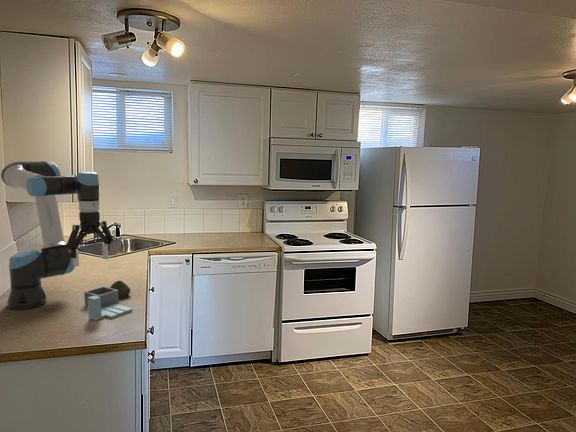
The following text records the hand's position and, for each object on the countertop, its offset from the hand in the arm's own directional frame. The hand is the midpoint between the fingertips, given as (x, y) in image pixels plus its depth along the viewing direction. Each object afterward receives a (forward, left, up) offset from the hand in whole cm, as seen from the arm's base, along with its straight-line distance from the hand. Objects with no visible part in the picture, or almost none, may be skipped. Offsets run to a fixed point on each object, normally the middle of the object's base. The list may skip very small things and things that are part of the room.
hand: (91, 262), depth 182 cm
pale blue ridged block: (+3, +5, -23) cm, 23 cm away
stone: (-12, +23, -24) cm, 35 cm away
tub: (-10, +12, -23) cm, 28 cm away
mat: (+3, +8, -23) cm, 25 cm away
